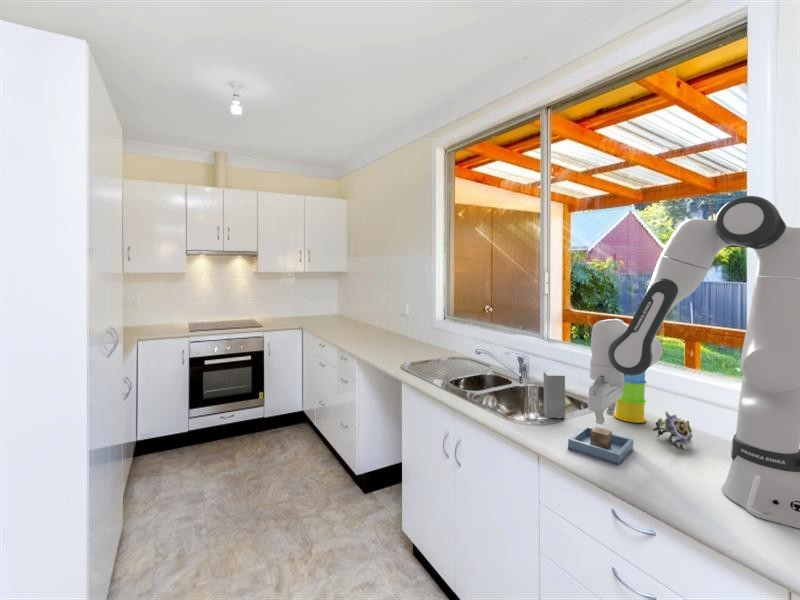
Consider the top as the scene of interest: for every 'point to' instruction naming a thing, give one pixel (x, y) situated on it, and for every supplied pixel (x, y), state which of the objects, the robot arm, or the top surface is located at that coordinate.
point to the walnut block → (601, 438)
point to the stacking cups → (632, 399)
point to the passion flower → (675, 430)
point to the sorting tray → (613, 455)
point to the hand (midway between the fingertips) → (605, 419)
